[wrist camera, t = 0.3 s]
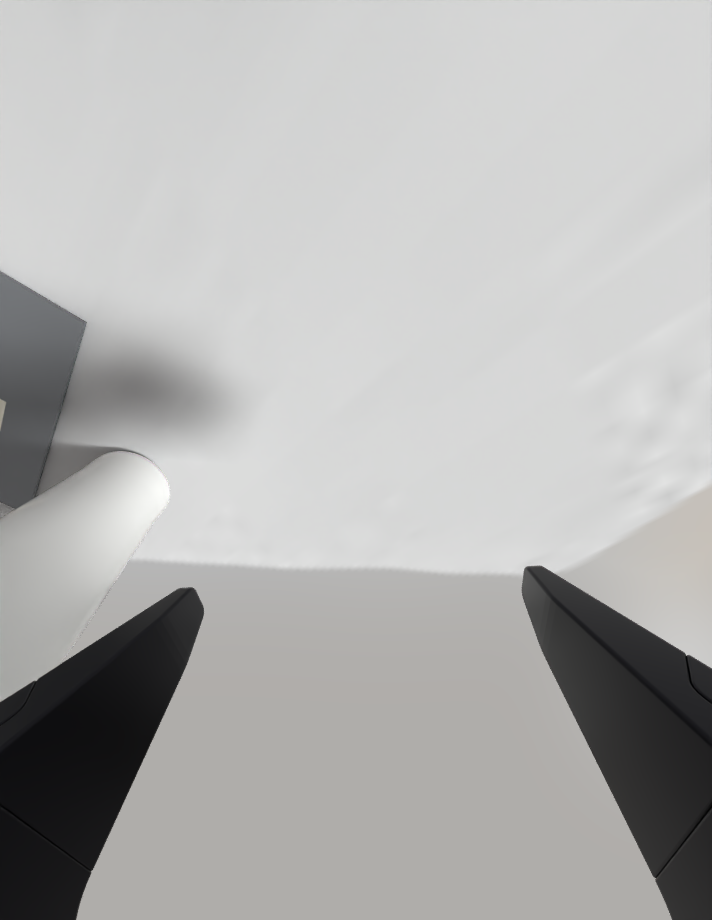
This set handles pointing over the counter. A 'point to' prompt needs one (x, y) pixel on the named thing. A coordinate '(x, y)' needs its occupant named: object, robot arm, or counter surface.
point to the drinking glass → (69, 559)
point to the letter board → (31, 383)
